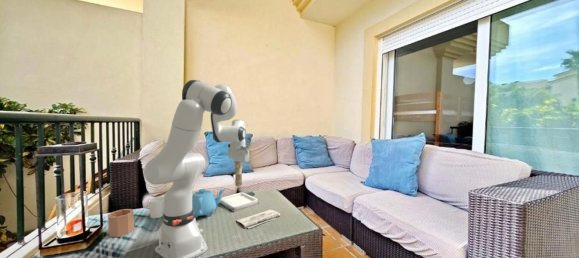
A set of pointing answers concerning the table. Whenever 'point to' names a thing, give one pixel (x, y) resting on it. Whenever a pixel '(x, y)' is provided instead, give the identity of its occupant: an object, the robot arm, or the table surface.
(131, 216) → the pot
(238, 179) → the dowel
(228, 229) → the table surface
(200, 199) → the teapot
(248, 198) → the tray
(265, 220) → the newspaper
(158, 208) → the white cup
